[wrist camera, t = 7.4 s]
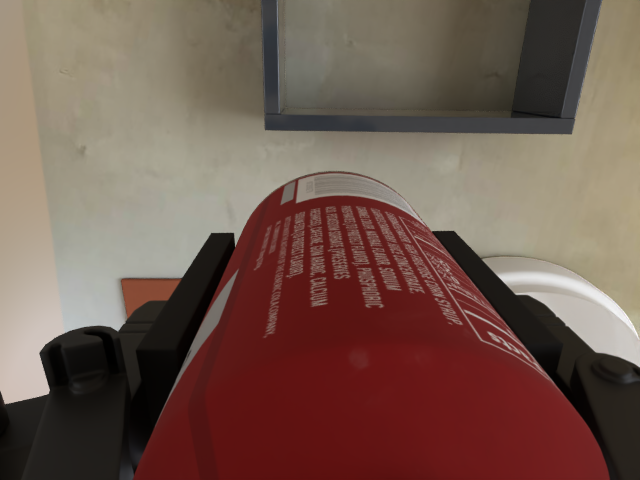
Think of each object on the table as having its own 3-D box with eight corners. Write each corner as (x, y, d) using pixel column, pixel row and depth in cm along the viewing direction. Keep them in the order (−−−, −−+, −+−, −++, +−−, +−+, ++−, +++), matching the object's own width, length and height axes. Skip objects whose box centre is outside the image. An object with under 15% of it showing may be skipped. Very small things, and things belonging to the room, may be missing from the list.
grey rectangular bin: (267, -132, 27) (254, -199, 21) (566, -123, 28) (645, -185, 21) (273, 120, 33) (264, 130, 26) (521, 124, 34) (572, 134, 27)
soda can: (285, 132, 14) (179, 361, 3) (457, 215, 15) (906, 620, 4) (214, 296, 16) (-16, 816, 5) (369, 357, 17) (486, 889, 6)
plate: (615, 446, 46) (653, 491, 41) (379, 491, 48) (387, 540, 43) (621, 225, 37) (671, 248, 32) (326, 291, 39) (329, 323, 33)
